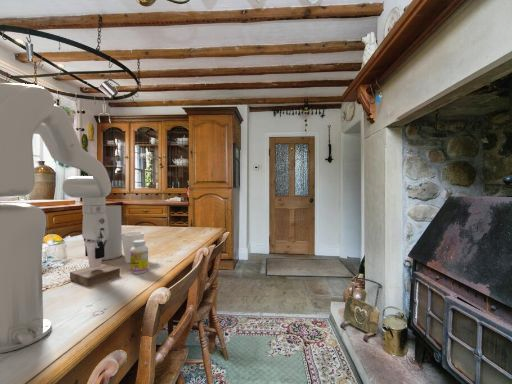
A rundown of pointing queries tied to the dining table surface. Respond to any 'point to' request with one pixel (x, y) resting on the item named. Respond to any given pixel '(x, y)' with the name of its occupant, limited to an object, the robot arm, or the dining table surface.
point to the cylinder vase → (113, 233)
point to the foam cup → (130, 242)
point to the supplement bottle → (139, 257)
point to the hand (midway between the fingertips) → (94, 256)
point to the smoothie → (92, 254)
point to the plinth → (94, 274)
